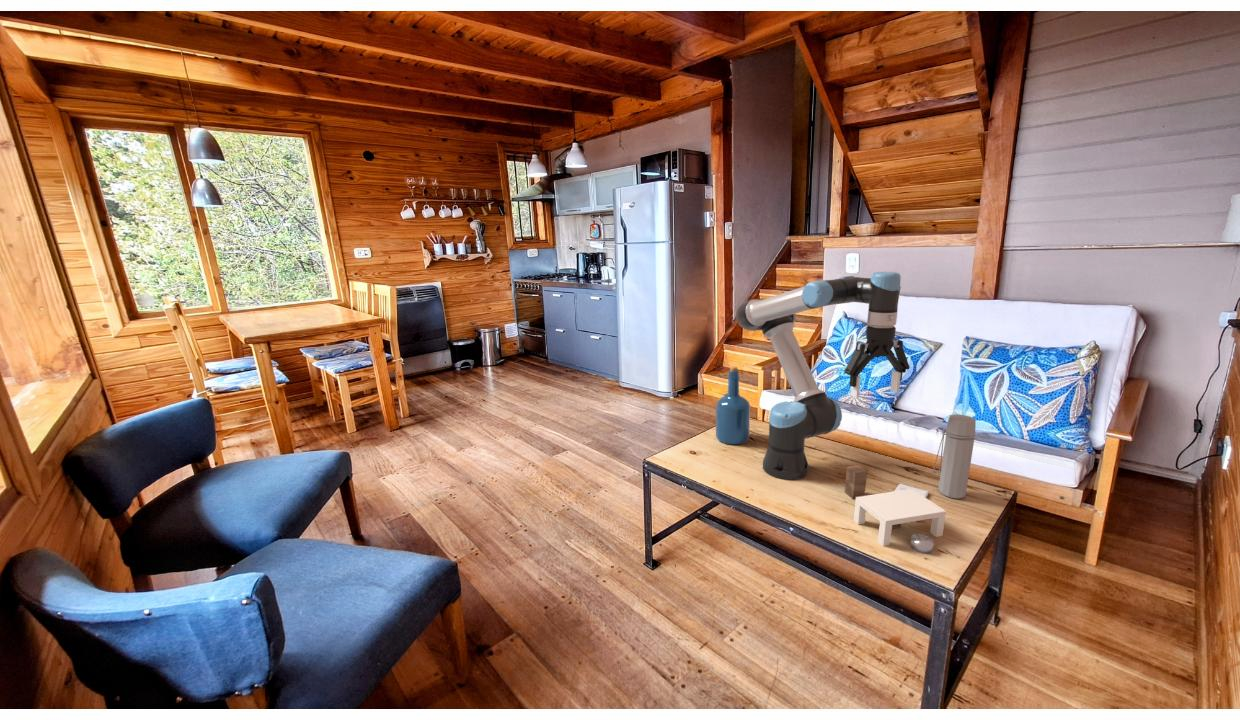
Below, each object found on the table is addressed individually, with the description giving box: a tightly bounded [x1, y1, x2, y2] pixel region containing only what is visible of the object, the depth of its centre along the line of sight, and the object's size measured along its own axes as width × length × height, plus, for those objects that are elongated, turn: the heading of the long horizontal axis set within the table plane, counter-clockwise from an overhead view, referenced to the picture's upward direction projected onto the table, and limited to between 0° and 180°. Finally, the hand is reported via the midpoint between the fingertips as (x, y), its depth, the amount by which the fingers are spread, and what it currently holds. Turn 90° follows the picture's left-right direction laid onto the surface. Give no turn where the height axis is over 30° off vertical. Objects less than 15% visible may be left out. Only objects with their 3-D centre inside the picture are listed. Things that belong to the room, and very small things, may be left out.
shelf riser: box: [853, 489, 947, 547], centre depth 134 cm, size 12×18×8 cm, turn 101°
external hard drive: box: [894, 483, 930, 499], centre depth 149 cm, size 2×8×12 cm
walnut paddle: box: [844, 464, 902, 529], centre depth 144 cm, size 20×4×9 cm, turn 11°
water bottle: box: [933, 413, 977, 499], centre depth 148 cm, size 9×8×25 cm
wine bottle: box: [715, 366, 751, 445], centre depth 193 cm, size 14×13×30 cm
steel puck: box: [909, 533, 935, 555], centre depth 126 cm, size 5×5×2 cm
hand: (874, 394), depth 148 cm, fingers open, 13 cm apart
